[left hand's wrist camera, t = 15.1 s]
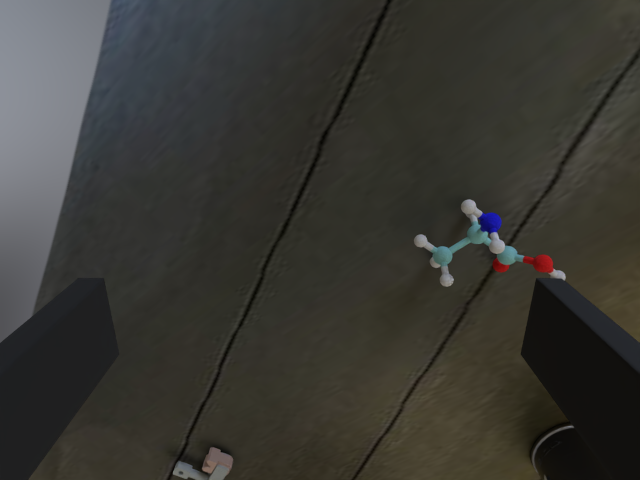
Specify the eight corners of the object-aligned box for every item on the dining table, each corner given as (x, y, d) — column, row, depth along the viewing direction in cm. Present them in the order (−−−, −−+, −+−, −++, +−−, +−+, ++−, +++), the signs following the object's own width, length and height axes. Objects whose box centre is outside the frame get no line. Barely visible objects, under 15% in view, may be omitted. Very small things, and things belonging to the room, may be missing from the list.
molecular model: (428, 322, 42) (478, 318, 33) (396, 233, 44) (435, 205, 34) (524, 288, 45) (598, 275, 35) (490, 205, 46) (553, 171, 36)
